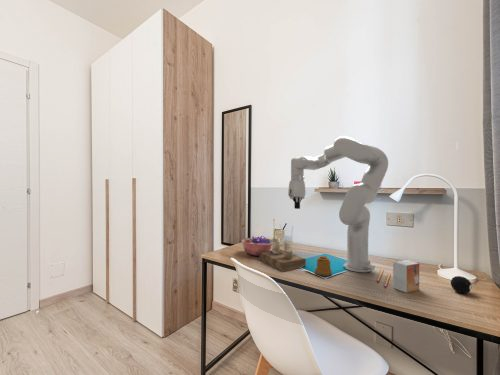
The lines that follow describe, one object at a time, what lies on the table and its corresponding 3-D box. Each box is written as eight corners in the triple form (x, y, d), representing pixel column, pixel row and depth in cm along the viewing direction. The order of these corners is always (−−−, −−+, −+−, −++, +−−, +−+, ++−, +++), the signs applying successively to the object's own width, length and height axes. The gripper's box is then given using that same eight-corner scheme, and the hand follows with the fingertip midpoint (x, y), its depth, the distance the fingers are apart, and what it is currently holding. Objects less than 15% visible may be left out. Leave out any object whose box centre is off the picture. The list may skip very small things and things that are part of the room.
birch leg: (276, 258, 135) (277, 237, 135) (281, 261, 131) (281, 238, 131) (270, 260, 133) (270, 238, 133) (275, 262, 129) (275, 239, 129)
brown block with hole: (305, 266, 121) (305, 243, 121) (283, 271, 115) (283, 246, 115) (279, 255, 141) (279, 235, 141) (259, 259, 134) (259, 237, 134)
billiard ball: (455, 288, 96) (455, 273, 96) (474, 293, 91) (474, 278, 91) (447, 291, 94) (447, 275, 94) (467, 297, 88) (467, 280, 88)
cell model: (251, 249, 156) (251, 231, 156) (278, 254, 145) (278, 235, 145) (234, 255, 143) (235, 235, 143) (263, 261, 131) (263, 240, 131)
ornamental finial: (335, 275, 110) (320, 277, 108) (325, 270, 117) (312, 271, 115) (335, 258, 110) (320, 259, 108) (325, 253, 117) (312, 254, 115)
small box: (406, 293, 91) (406, 265, 91) (392, 287, 97) (392, 261, 97) (419, 289, 95) (420, 263, 95) (405, 284, 100) (405, 259, 100)
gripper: (302, 178, 154) (302, 207, 154) (283, 178, 147) (283, 208, 147) (310, 178, 147) (310, 208, 147) (291, 178, 140) (291, 209, 140)
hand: (297, 208), depth 147 cm, fingers closed
